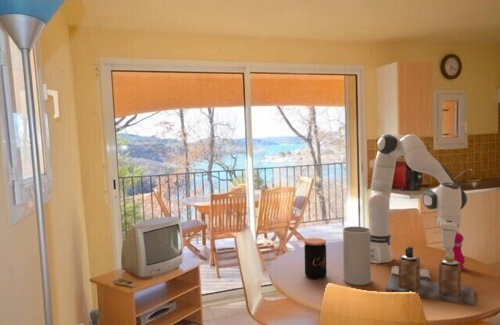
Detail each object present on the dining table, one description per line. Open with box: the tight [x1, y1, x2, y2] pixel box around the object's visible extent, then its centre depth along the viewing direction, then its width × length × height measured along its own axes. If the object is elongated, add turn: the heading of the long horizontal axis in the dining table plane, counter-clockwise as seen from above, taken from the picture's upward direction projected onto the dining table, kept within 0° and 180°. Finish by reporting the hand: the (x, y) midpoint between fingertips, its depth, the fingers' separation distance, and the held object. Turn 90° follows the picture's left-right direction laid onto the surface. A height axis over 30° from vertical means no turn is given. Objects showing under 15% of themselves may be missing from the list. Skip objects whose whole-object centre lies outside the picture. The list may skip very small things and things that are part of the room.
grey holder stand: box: [385, 254, 476, 307], centre depth 162 cm, size 34×16×14 cm, turn 61°
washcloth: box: [390, 265, 432, 282], centre depth 182 cm, size 12×18×3 cm, turn 67°
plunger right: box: [441, 250, 458, 266], centre depth 158 cm, size 6×6×15 cm
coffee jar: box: [303, 237, 328, 280], centre depth 184 cm, size 11×11×18 cm
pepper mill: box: [451, 230, 466, 271], centre depth 189 cm, size 7×7×20 cm
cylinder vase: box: [342, 225, 372, 286], centre depth 175 cm, size 12×12×25 cm
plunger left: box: [401, 246, 418, 261], centre depth 165 cm, size 6×6×15 cm
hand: (448, 253), depth 157 cm, fingers open, 8 cm apart
